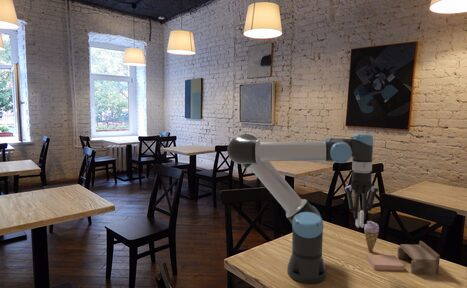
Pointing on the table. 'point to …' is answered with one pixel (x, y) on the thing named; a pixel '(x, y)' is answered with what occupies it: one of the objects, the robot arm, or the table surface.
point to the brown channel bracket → (420, 258)
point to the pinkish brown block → (385, 262)
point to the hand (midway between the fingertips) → (359, 226)
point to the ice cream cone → (371, 234)
